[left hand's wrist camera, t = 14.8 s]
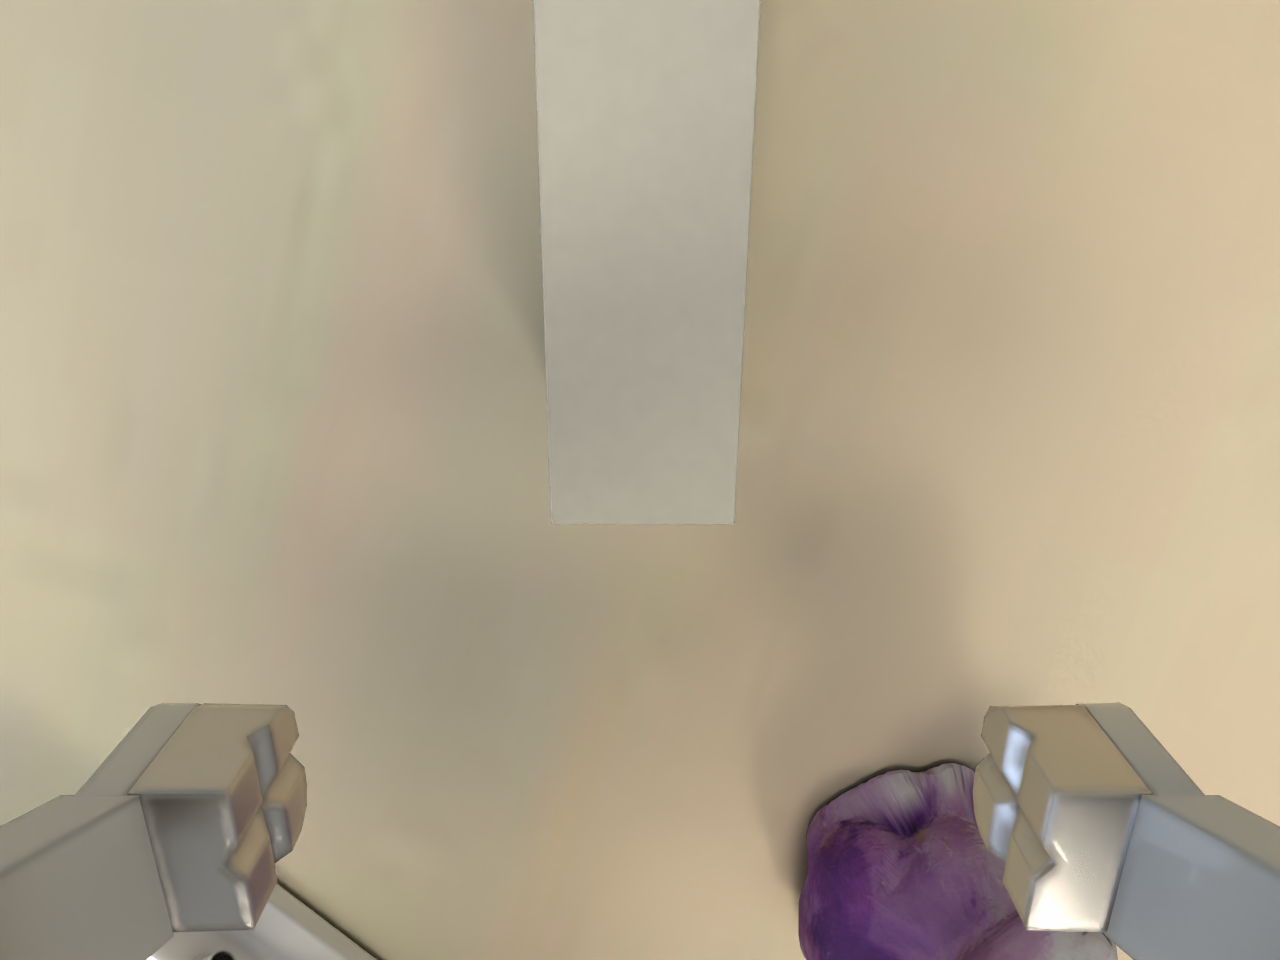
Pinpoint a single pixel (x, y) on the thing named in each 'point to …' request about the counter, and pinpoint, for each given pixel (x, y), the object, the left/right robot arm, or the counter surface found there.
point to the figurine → (917, 880)
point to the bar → (644, 252)
